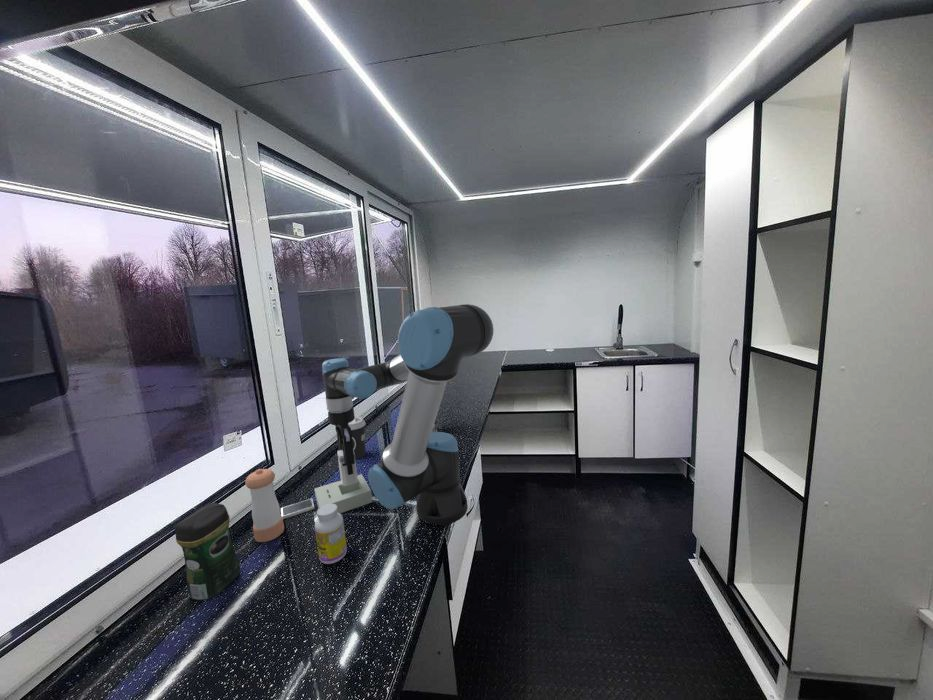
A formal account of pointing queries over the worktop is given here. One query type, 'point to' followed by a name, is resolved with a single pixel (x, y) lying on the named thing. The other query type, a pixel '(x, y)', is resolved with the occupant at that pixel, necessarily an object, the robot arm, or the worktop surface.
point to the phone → (297, 508)
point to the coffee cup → (358, 436)
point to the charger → (342, 471)
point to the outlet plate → (344, 495)
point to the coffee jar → (207, 551)
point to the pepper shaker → (264, 506)
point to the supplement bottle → (330, 534)
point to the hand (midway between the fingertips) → (349, 478)
